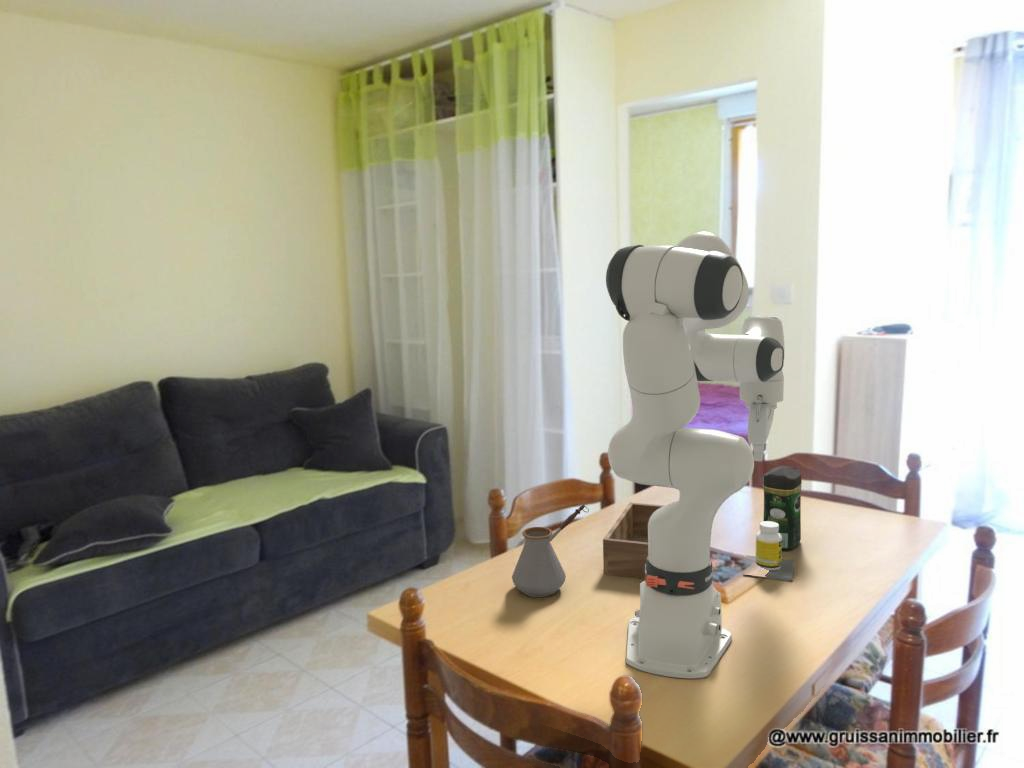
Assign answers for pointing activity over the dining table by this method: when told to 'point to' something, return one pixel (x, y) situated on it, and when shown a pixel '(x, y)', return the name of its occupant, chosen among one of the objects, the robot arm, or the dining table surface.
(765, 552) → the supplement bottle
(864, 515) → the dining table surface
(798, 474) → the coffee jar
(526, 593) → the coffee pot
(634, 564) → the crate
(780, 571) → the coaster
